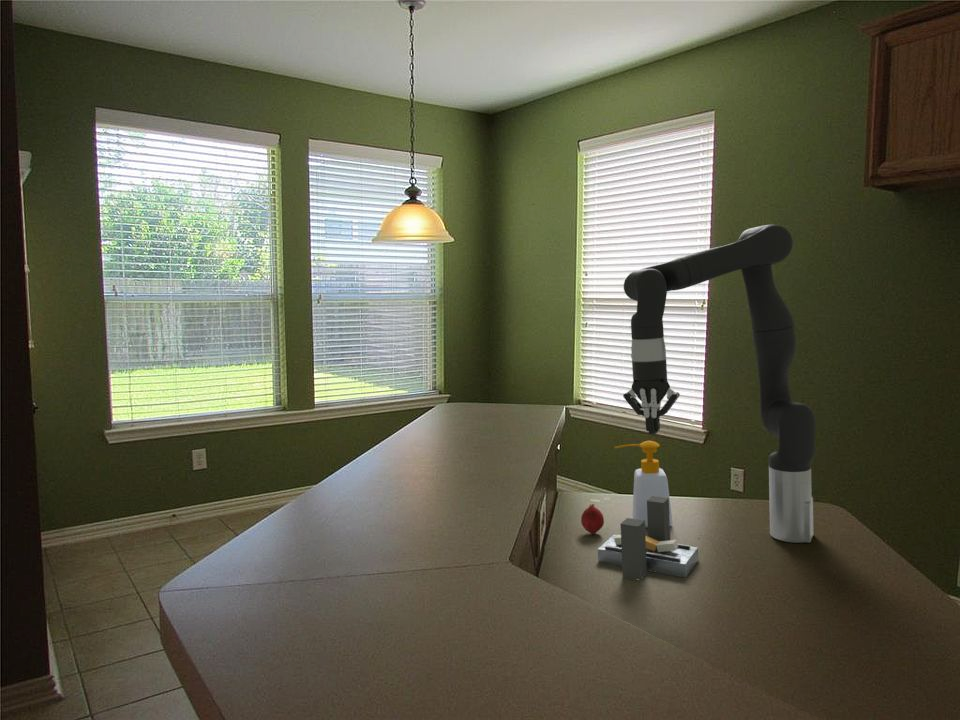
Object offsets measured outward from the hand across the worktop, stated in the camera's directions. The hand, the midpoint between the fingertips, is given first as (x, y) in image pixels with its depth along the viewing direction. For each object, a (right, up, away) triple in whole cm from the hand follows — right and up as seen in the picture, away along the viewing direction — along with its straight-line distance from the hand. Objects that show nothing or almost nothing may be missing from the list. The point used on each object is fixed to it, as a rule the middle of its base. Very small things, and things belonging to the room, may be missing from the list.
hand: (653, 433), depth 147 cm
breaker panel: (-1, -29, 0) cm, 29 cm away
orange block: (-1, -26, 0) cm, 26 cm away
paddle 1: (-5, -26, +3) cm, 27 cm away
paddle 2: (+3, -26, -3) cm, 27 cm away
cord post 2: (+4, -28, +7) cm, 30 cm away
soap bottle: (+4, -27, +25) cm, 37 cm away
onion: (-10, -28, +19) cm, 36 cm away
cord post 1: (-6, -30, -7) cm, 32 cm away
